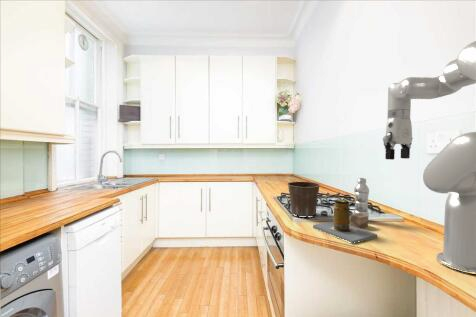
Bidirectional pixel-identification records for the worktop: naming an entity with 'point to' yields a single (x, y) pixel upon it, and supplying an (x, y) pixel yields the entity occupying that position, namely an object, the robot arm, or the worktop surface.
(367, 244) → the worktop surface
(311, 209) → the plant pot
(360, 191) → the plastic bottle
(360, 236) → the slate board
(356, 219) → the walnut block
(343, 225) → the condiment
